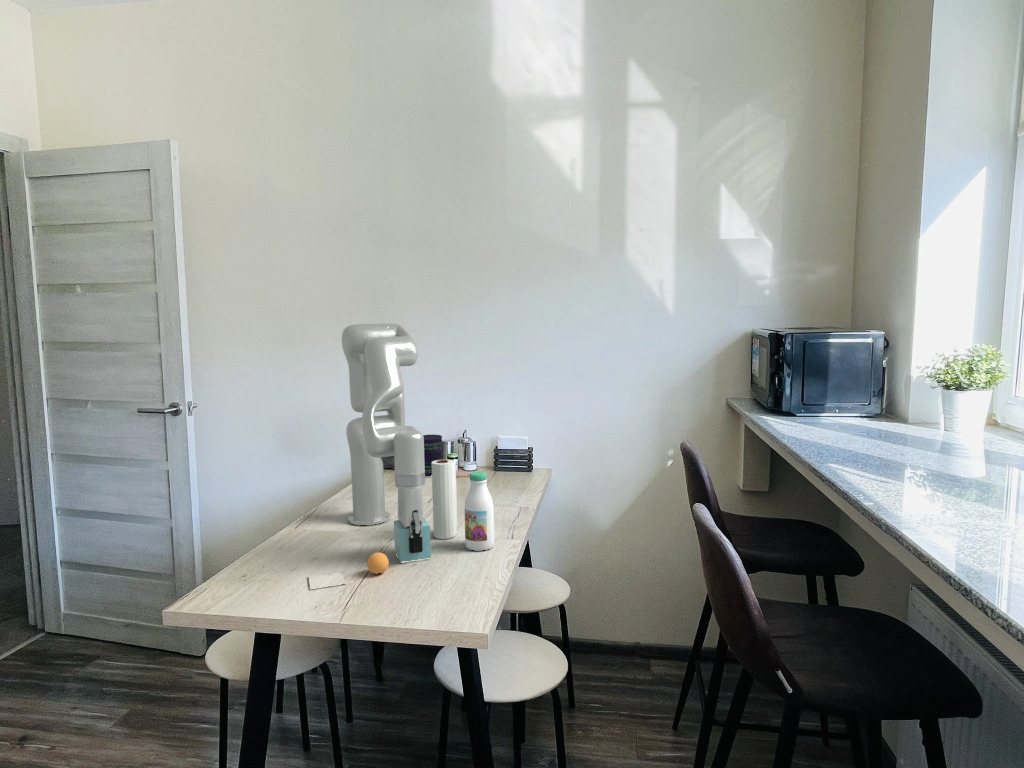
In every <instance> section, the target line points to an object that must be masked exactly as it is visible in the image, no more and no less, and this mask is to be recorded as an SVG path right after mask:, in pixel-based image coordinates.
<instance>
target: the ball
mask: <svg viewBox="0 0 1024 768" xmlns="http://www.w3.org/2000/svg"><path fill="white" fill-rule="evenodd" d="M366 564H367V568H368V570H369V572H370V573H372V574H374V573H375V575H379V574H378V573H381V574H383V573H385V572H386V571H387V569H388V567H389V566H390V565H389V558H388V556H387V555H386V554H384V553H383V552H379V551H378V552H374V553H372V554H371V555H370V556H369V557H368V559H367V563H366Z"/></svg>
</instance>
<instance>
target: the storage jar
mask: <svg viewBox="0 0 1024 768" xmlns="http://www.w3.org/2000/svg"><path fill="white" fill-rule="evenodd" d="M423 437H424V462H425V476H431V475H432V462H433V461H436V460H443V440H442V439H443V435H441V434H423Z"/></svg>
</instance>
